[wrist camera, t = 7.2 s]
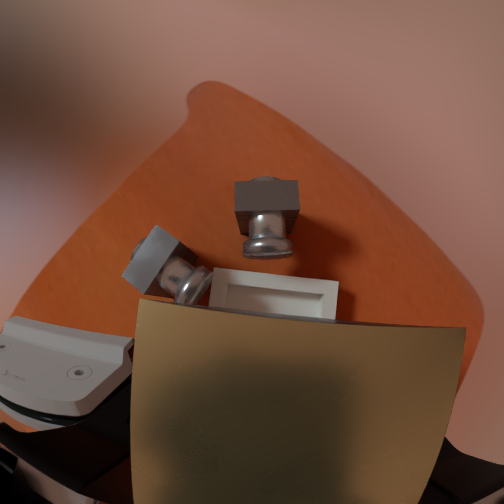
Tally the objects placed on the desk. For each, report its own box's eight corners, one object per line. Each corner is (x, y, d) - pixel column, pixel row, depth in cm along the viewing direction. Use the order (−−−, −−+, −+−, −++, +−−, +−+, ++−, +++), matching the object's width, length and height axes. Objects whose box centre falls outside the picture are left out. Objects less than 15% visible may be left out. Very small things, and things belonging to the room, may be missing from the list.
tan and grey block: (317, 317, 16) (465, 327, 3) (308, 382, 15) (407, 522, 3) (232, 308, 16) (139, 298, 4) (224, 374, 16) (134, 512, 3)
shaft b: (224, 274, 22) (212, 263, 17) (195, 316, 22) (174, 318, 16) (175, 240, 23) (150, 220, 18) (148, 280, 22) (116, 271, 17)
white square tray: (331, 283, 22) (338, 281, 20) (317, 394, 20) (322, 402, 18) (218, 271, 22) (213, 267, 20) (204, 382, 21) (199, 388, 19)
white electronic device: (137, 338, 22) (74, 407, 12) (145, 384, 22) (98, 459, 12) (13, 315, 22) (-48, 347, 12) (23, 353, 23) (-31, 391, 13)
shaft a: (292, 264, 22) (302, 249, 17) (241, 265, 22) (234, 251, 17) (289, 203, 23) (297, 173, 18) (240, 204, 23) (234, 174, 18)
